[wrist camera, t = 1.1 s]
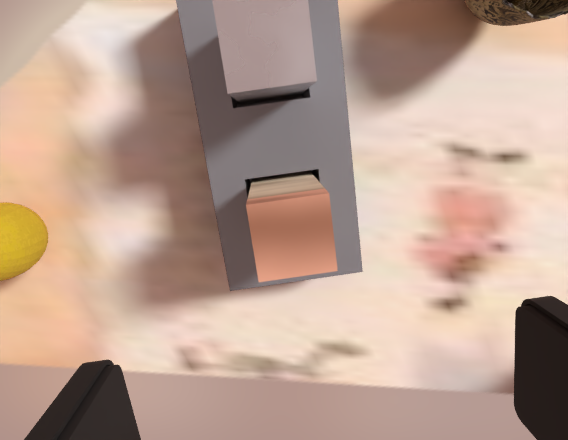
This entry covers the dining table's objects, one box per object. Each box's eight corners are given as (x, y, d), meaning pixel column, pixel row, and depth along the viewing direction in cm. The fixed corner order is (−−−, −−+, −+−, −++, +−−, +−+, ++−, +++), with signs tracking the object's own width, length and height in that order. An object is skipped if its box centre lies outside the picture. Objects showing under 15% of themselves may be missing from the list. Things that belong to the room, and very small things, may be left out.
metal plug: (298, 96, 30) (316, 81, 19) (242, 104, 30) (227, 93, 19) (290, 35, 29) (305, -20, 18) (232, 43, 29) (211, -6, 18)
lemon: (-17, 228, 32) (-107, 261, 24) (24, 180, 31) (-56, 199, 23) (40, 271, 33) (-29, 316, 25) (80, 225, 32) (21, 258, 25)
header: (348, 250, 34) (362, 271, 29) (235, 266, 34) (230, 290, 29) (322, -17, 29) (333, -45, 24) (187, 1, 29) (171, -23, 24)
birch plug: (313, 220, 33) (337, 271, 21) (261, 227, 33) (258, 282, 21) (307, 168, 31) (329, 193, 20) (253, 175, 31) (245, 204, 20)
